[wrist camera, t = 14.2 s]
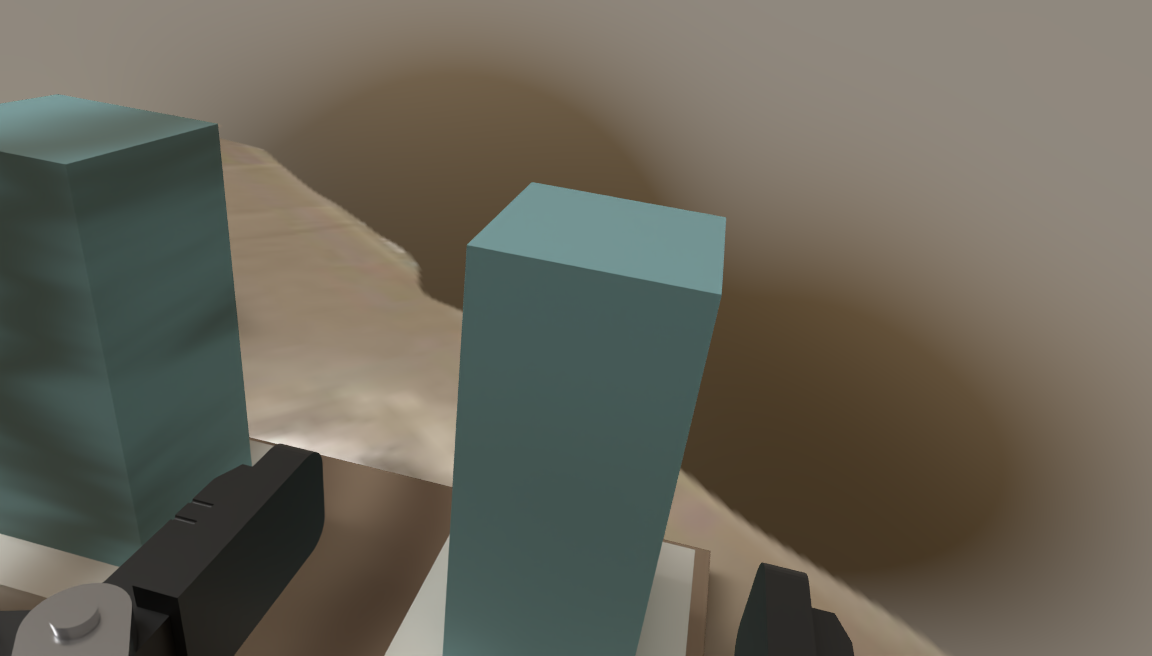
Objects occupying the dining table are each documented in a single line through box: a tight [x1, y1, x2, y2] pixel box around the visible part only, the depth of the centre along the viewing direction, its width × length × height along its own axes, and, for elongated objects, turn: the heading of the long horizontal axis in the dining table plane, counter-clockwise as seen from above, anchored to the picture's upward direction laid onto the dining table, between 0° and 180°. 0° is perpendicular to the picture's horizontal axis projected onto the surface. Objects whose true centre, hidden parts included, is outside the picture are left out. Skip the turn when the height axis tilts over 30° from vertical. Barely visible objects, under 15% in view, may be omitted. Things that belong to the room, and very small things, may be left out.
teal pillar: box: [442, 182, 726, 656], centre depth 19 cm, size 5×5×12 cm
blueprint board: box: [0, 94, 710, 656], centre depth 21 cm, size 24×15×16 cm, turn 78°
